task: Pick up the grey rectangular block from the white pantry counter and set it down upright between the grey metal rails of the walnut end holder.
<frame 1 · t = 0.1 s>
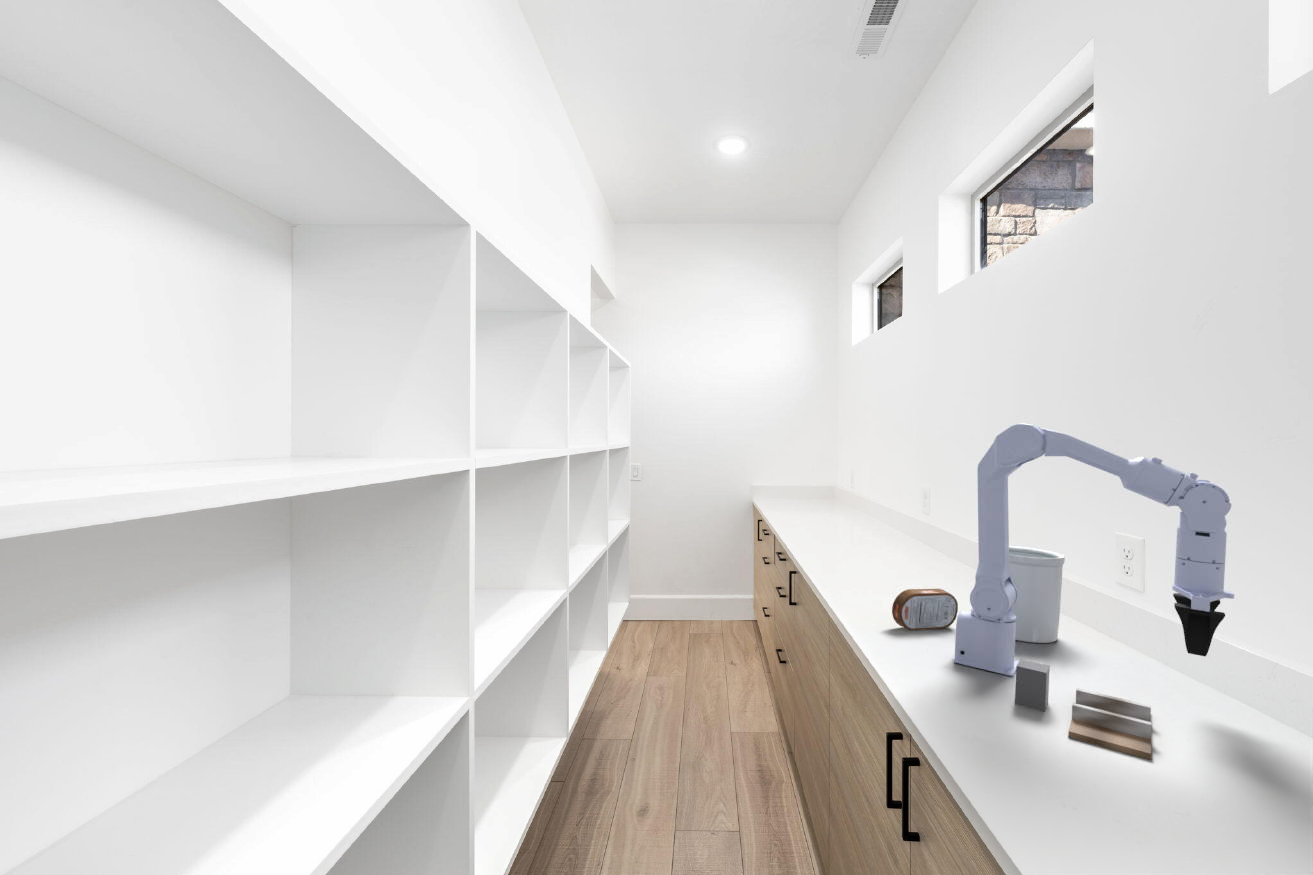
hand: (1195, 647, 95), 10 cm above the worktop, fingers open, 7 cm apart
tin: (925, 629, 133), on the worktop
grey rectangular block: (1031, 703, 97), on the worktop
utensil holder: (1019, 633, 132), on the worktop
end holder: (1110, 724, 90), on the worktop
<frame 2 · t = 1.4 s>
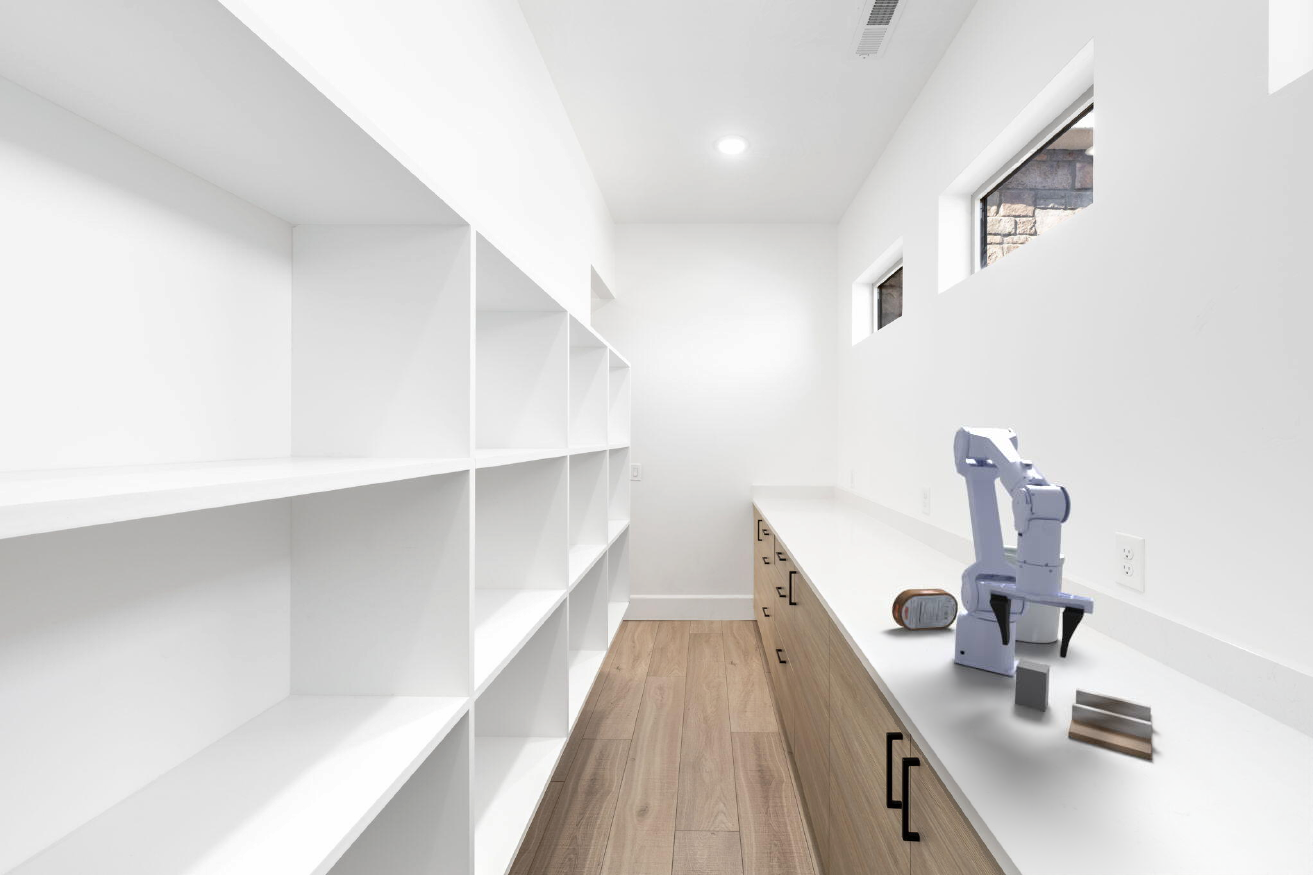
hand: (1033, 649, 96), 8 cm above the worktop, fingers open, 7 cm apart
nothing on the worktop moved.
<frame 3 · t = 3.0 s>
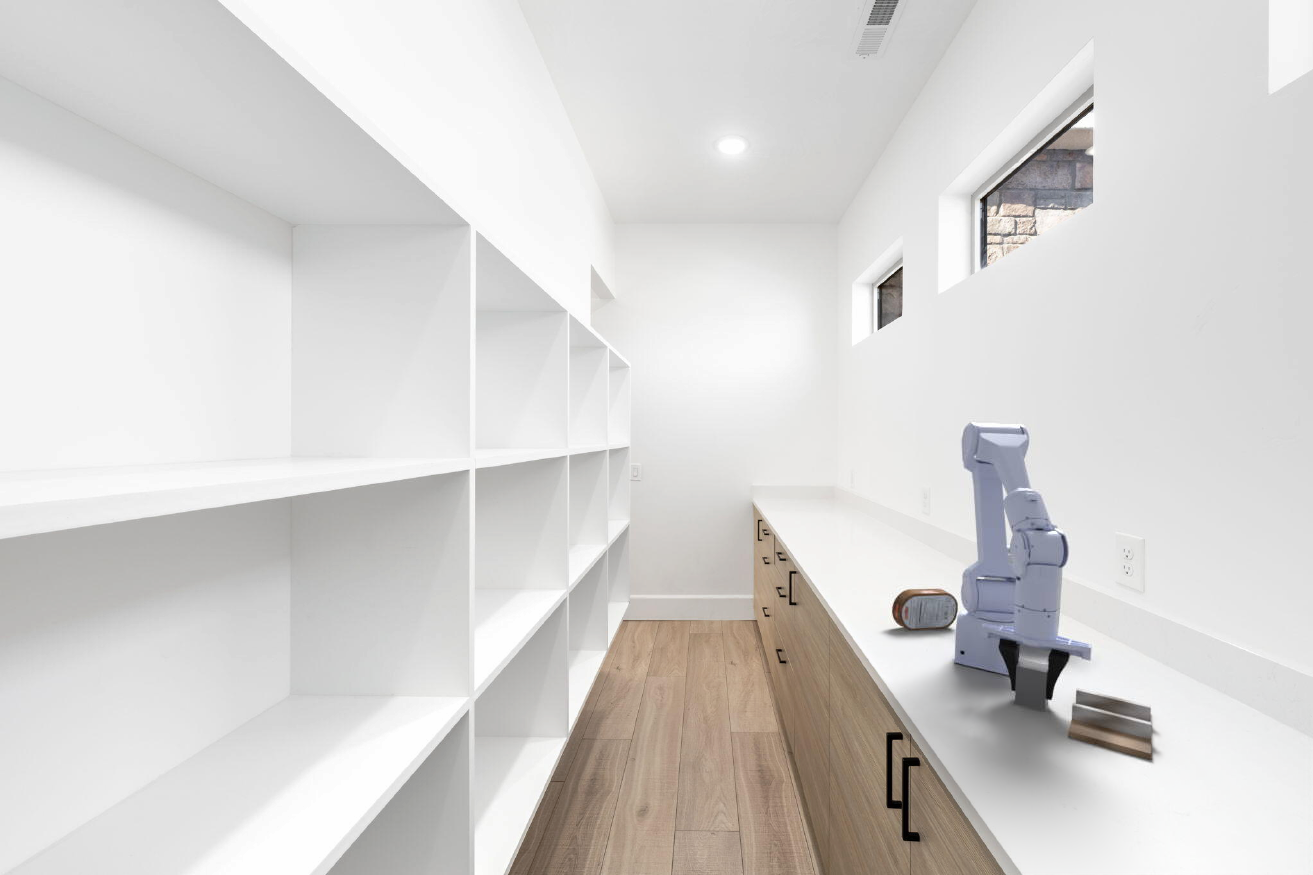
hand: (1031, 693, 97), 2 cm above the worktop, fingers closed on grey rectangular block, 4 cm apart
grey rectangular block: (1031, 703, 97), on the worktop, touching gripper
everything else where it was.
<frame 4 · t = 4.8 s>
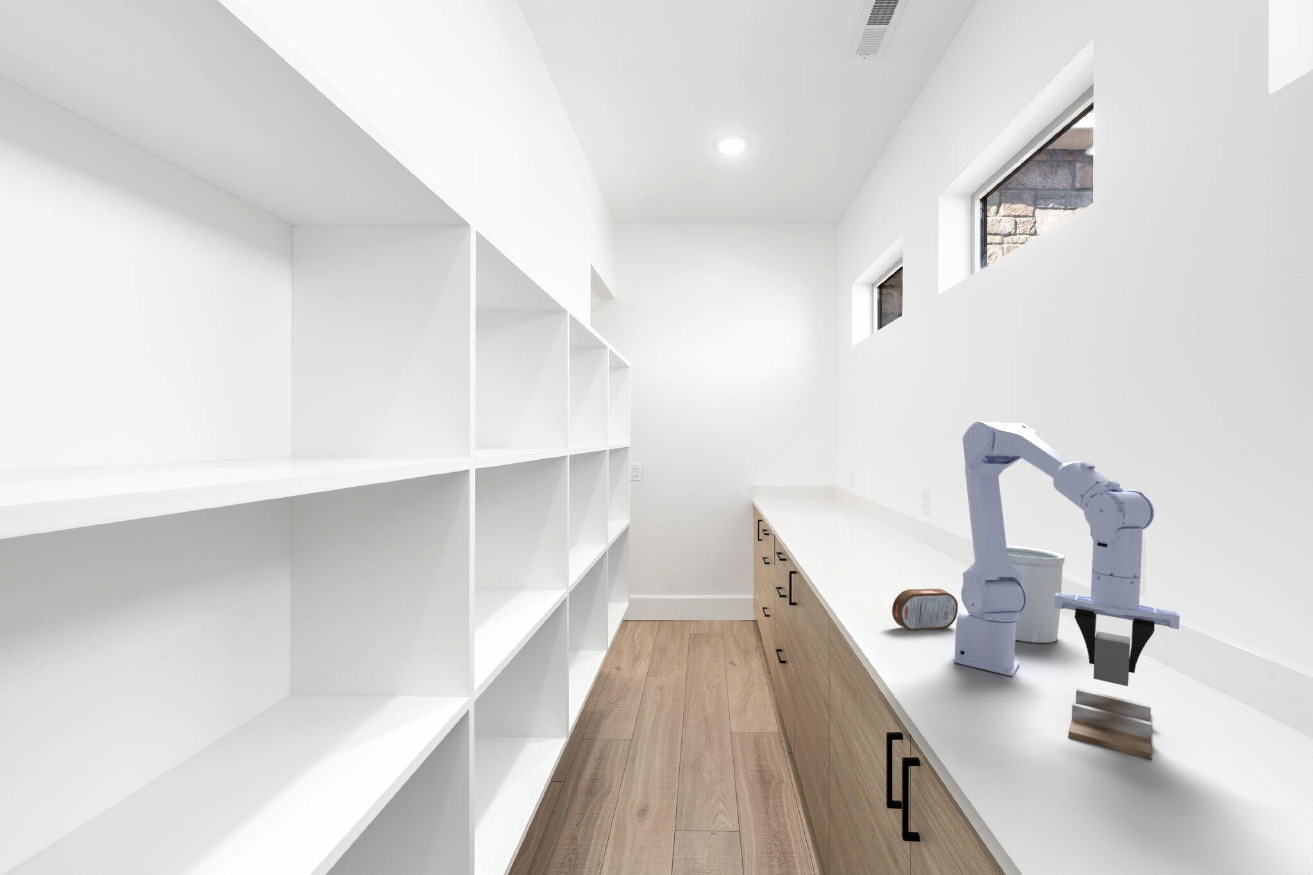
hand: (1111, 666, 90), 8 cm above the worktop, fingers closed on grey rectangular block, 4 cm apart
grey rectangular block: (1111, 678, 90), point 7 cm above the worktop, touching gripper
everything else where it was.
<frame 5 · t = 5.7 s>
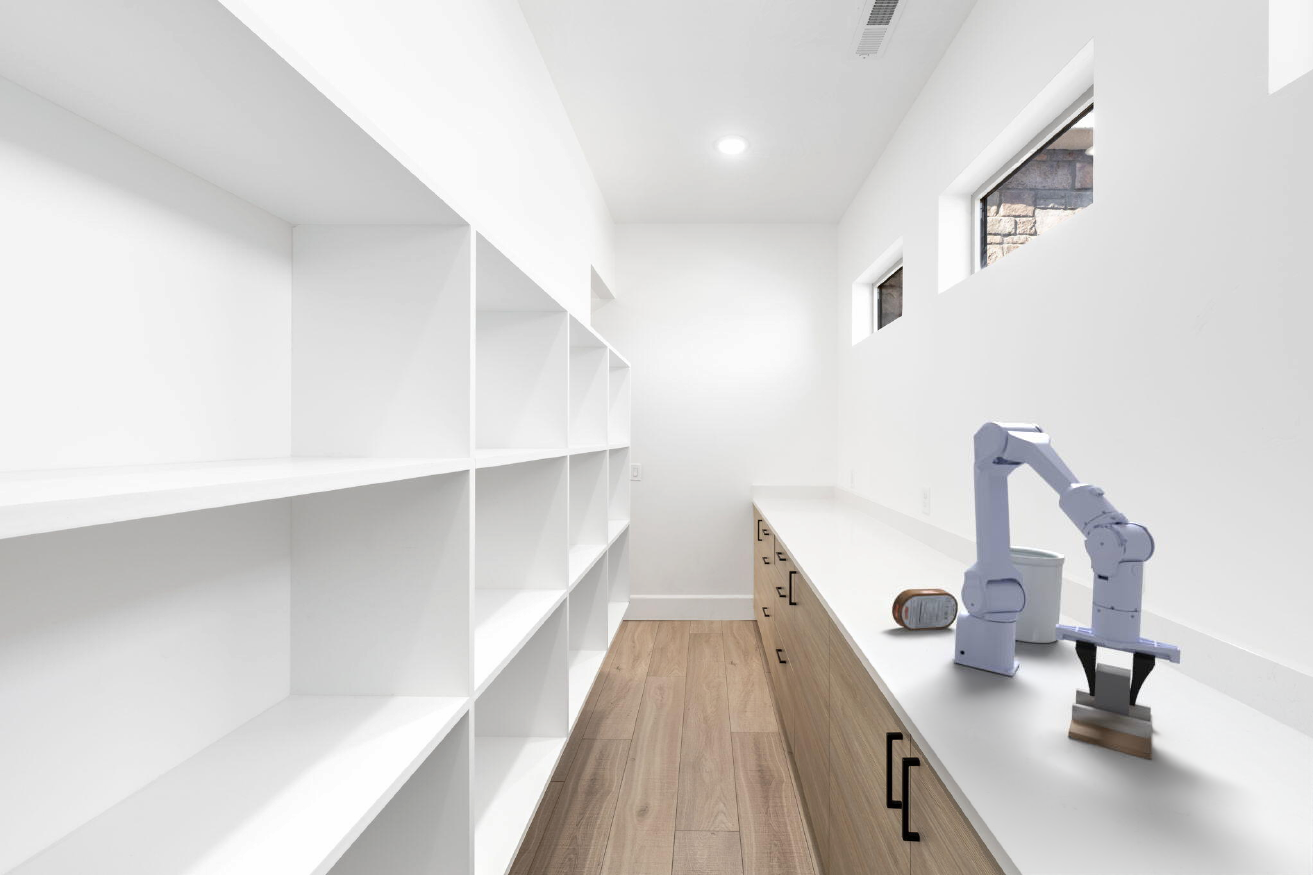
hand: (1112, 698, 90), 4 cm above the worktop, fingers closed on grey rectangular block, 4 cm apart
grey rectangular block: (1111, 710, 90), point 2 cm above the worktop, touching gripper
everything else where it was.
when the fingers open (3 cm above the worktop, at t = 6.6 s): grey rectangular block stays where it is, resting on end holder.
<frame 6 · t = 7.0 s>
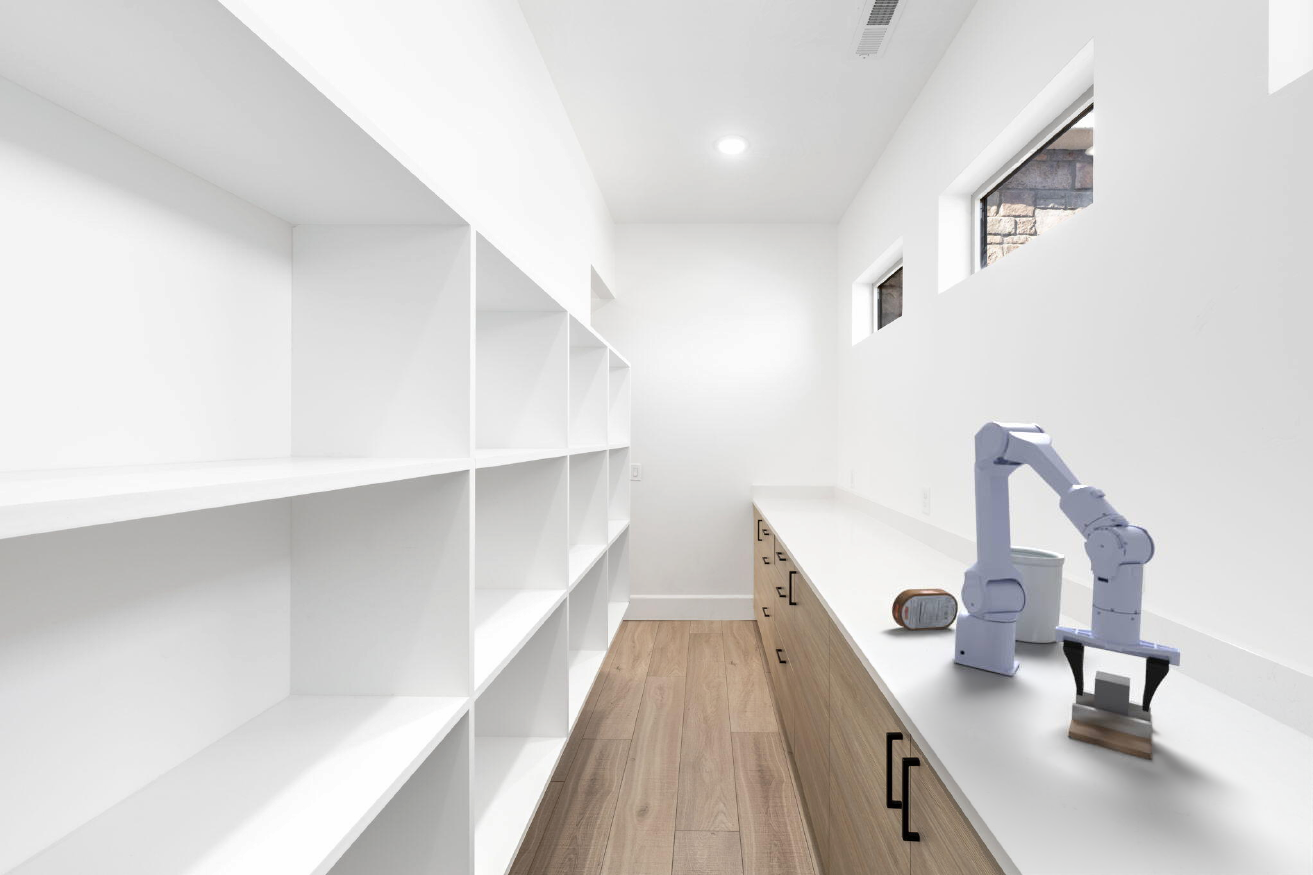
hand: (1111, 701, 90), 3 cm above the worktop, fingers open, 7 cm apart
grey rectangular block: (1110, 718, 90), point 1 cm above the worktop, touching end holder
everything else where it was.
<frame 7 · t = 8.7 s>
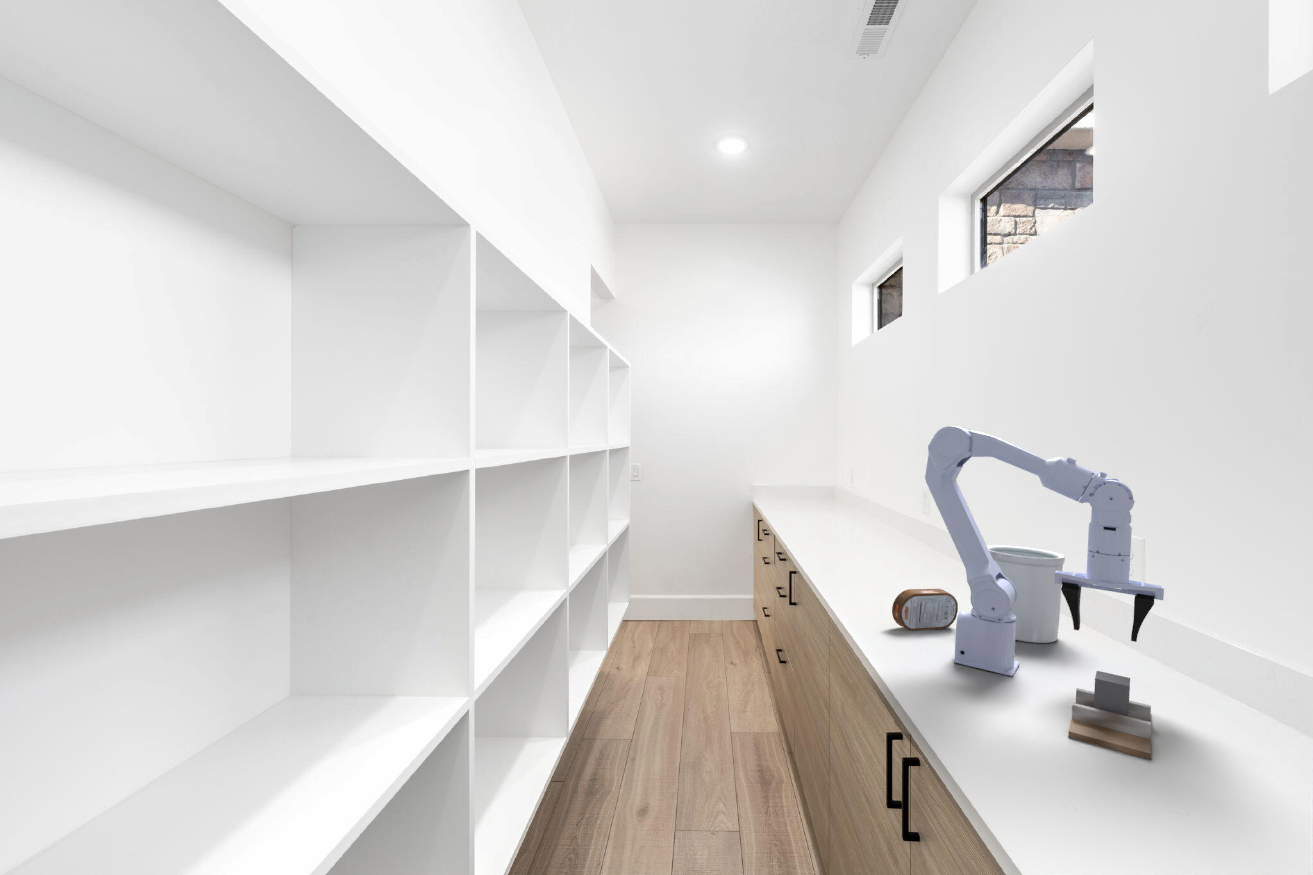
hand: (1104, 634, 103), 9 cm above the worktop, fingers open, 7 cm apart
nothing on the worktop moved.
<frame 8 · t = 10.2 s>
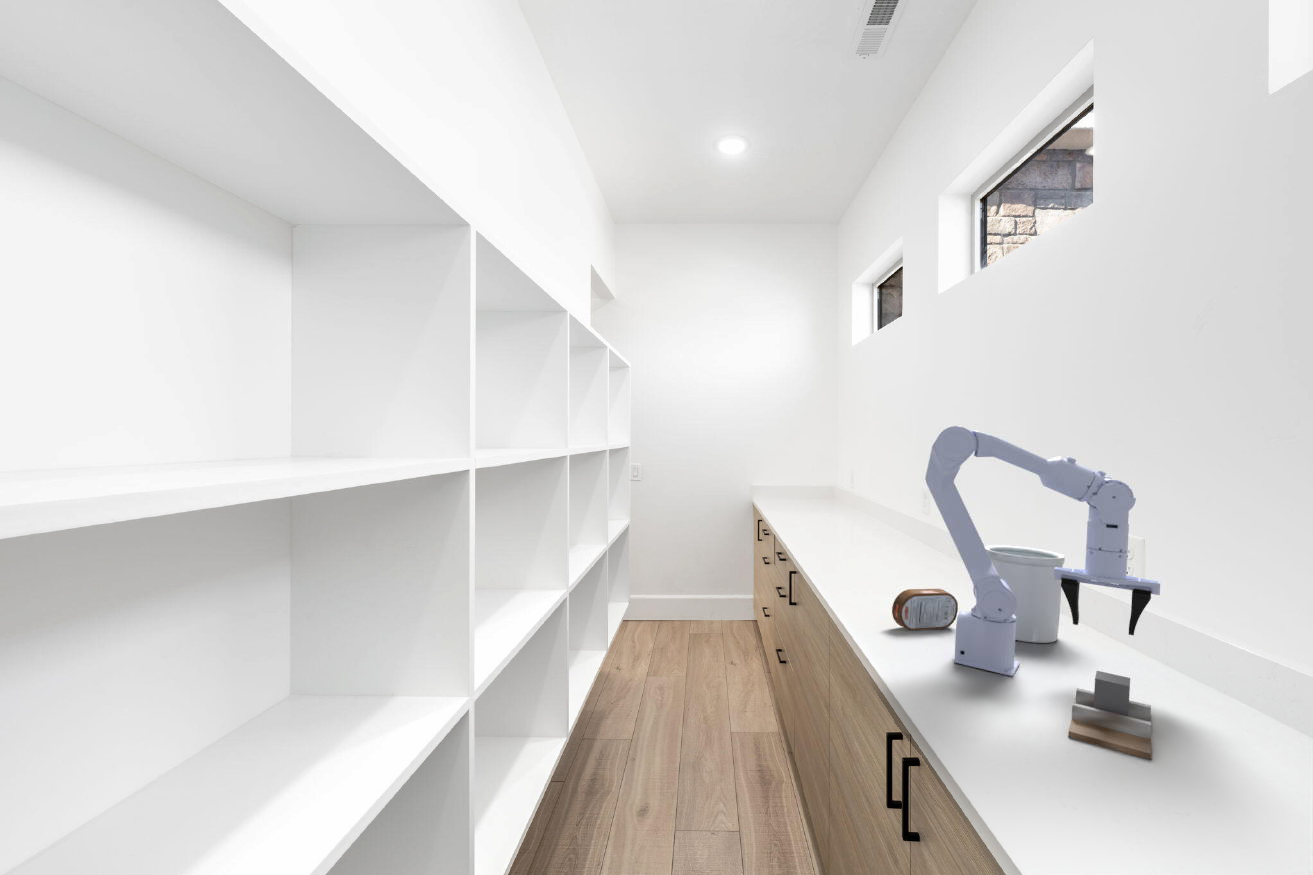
hand: (1102, 628, 106), 9 cm above the worktop, fingers open, 7 cm apart
nothing on the worktop moved.
at the end: grey rectangular block 0.1 cm off-centre on the end holder, point 0.8 cm above the end holder's base; grey rectangular block tilted 0°; the gripper is holding nothing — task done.
